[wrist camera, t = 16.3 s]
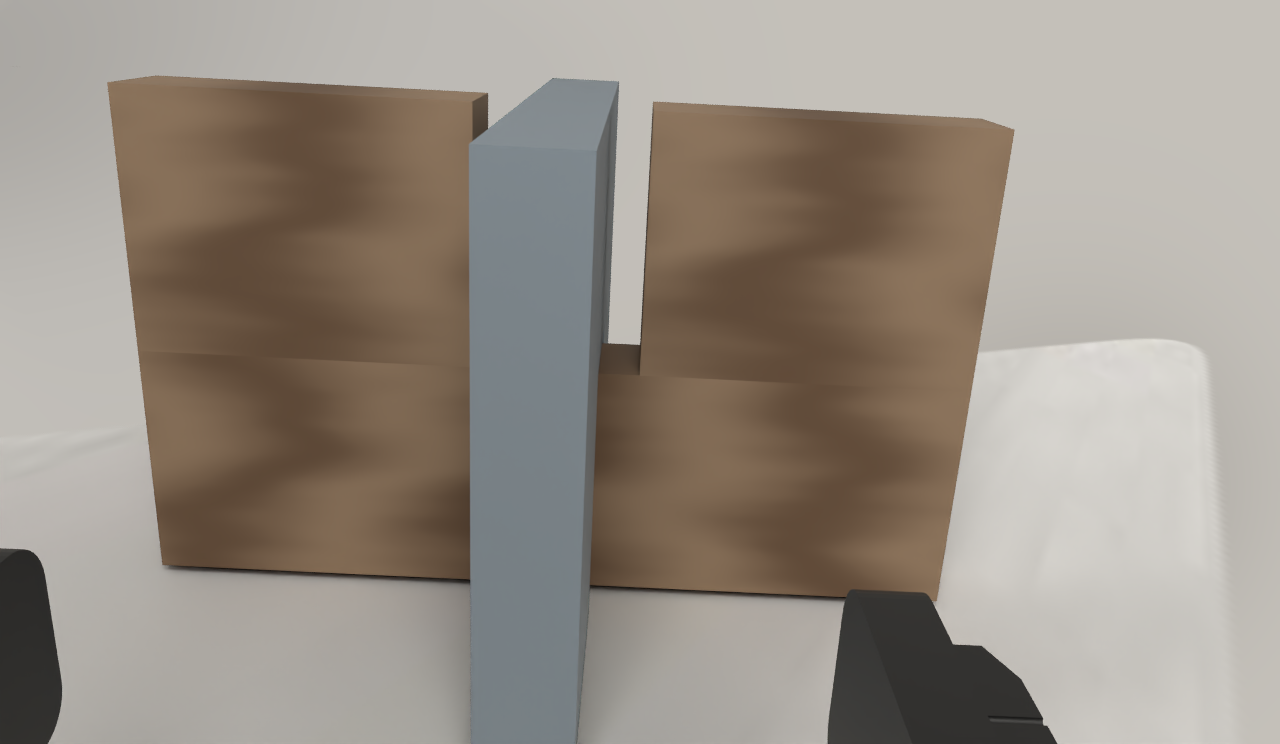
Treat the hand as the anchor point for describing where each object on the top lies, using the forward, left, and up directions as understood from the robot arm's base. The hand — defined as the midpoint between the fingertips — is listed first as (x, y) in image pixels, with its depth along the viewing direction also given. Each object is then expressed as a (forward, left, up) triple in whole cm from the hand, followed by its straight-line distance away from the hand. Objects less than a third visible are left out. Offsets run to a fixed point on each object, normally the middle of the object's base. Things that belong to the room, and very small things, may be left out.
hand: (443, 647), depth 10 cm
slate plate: (0, +16, -8) cm, 18 cm away
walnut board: (0, +16, -8) cm, 18 cm away
